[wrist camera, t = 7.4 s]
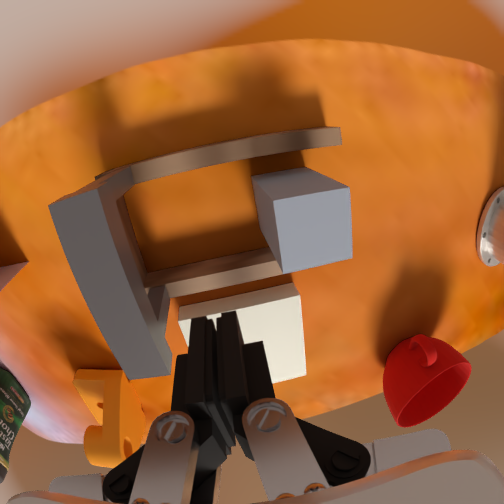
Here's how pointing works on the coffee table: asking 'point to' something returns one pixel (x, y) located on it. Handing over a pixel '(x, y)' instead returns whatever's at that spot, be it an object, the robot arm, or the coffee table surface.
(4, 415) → the coffee jar
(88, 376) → the bracket
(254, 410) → the robot arm
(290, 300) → the plinth
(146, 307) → the grey arch
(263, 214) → the block
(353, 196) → the coffee table surface
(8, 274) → the greeting card
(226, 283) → the rack
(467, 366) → the ceramic cup
